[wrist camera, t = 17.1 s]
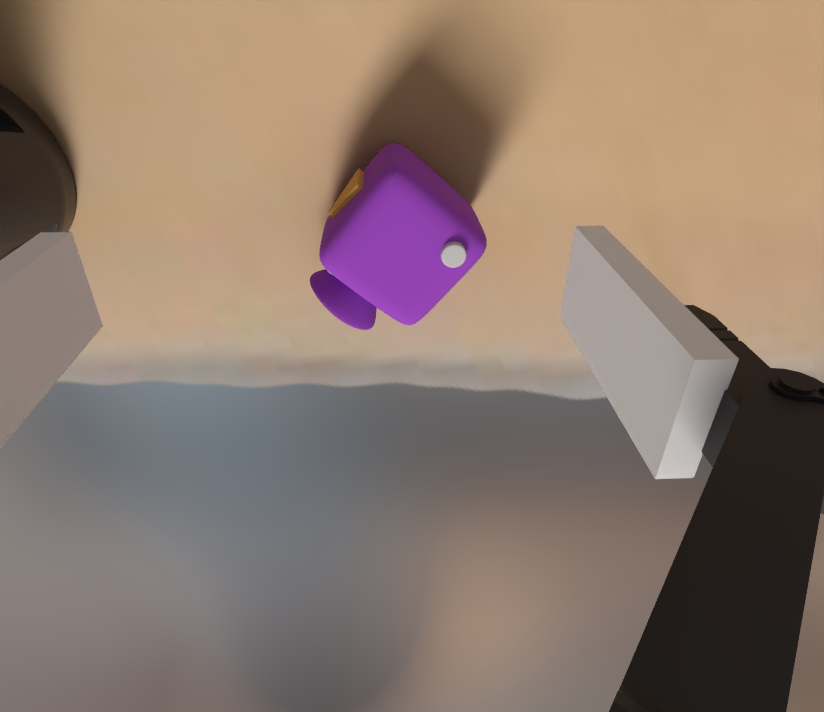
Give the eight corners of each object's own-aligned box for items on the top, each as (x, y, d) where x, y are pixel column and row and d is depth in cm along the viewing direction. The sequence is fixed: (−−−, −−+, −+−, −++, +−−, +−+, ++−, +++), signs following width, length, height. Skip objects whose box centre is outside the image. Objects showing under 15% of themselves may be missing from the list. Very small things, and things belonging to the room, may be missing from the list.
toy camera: (296, 266, 49) (280, 322, 40) (368, 120, 43) (367, 149, 34) (404, 317, 52) (409, 379, 44) (485, 189, 46) (510, 230, 38)
